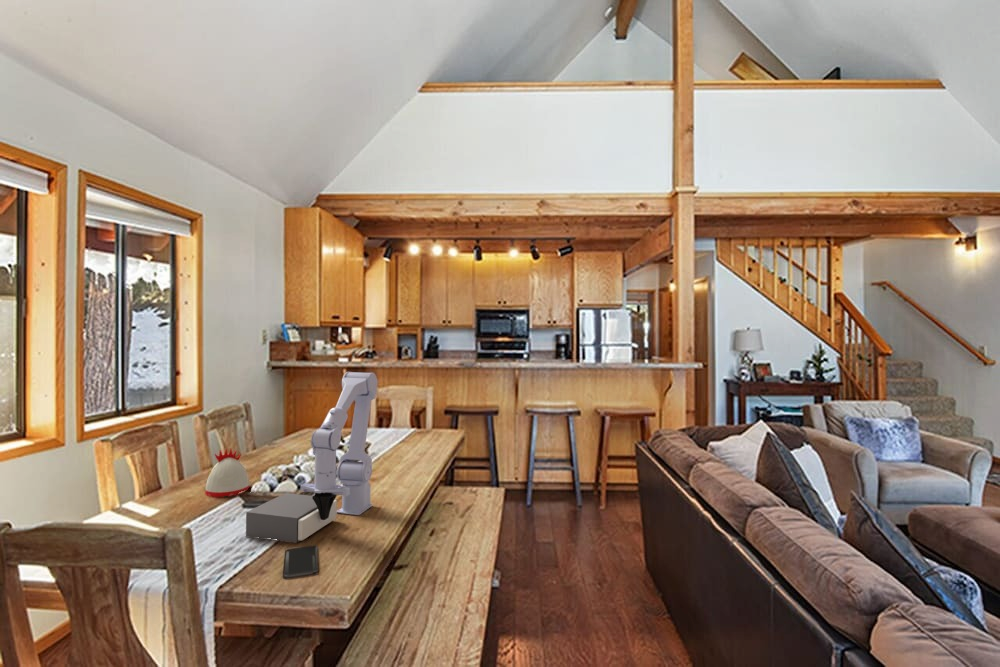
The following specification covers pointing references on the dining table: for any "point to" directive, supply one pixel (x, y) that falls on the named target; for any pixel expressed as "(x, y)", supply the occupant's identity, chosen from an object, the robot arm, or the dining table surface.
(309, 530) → the tray
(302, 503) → the box housing
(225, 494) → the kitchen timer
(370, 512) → the dining table surface
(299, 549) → the phone
